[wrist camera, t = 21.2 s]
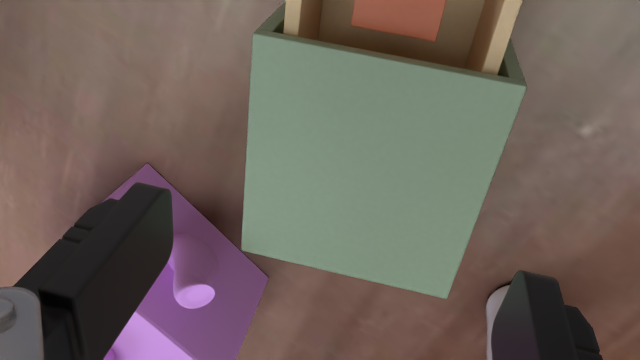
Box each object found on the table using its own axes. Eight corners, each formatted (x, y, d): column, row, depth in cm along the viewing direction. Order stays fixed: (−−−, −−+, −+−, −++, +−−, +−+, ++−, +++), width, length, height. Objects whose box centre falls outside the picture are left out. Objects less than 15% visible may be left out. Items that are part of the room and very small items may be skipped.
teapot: (325, 245, 45) (284, 384, 33) (157, 340, 57) (85, 465, 45) (199, 117, 40) (102, 225, 29) (46, 249, 52) (-66, 363, 41)
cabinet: (297, -11, 34) (252, 32, 26) (507, 28, 32) (528, 86, 24) (278, 174, 42) (240, 250, 34) (446, 211, 40) (446, 299, 33)
